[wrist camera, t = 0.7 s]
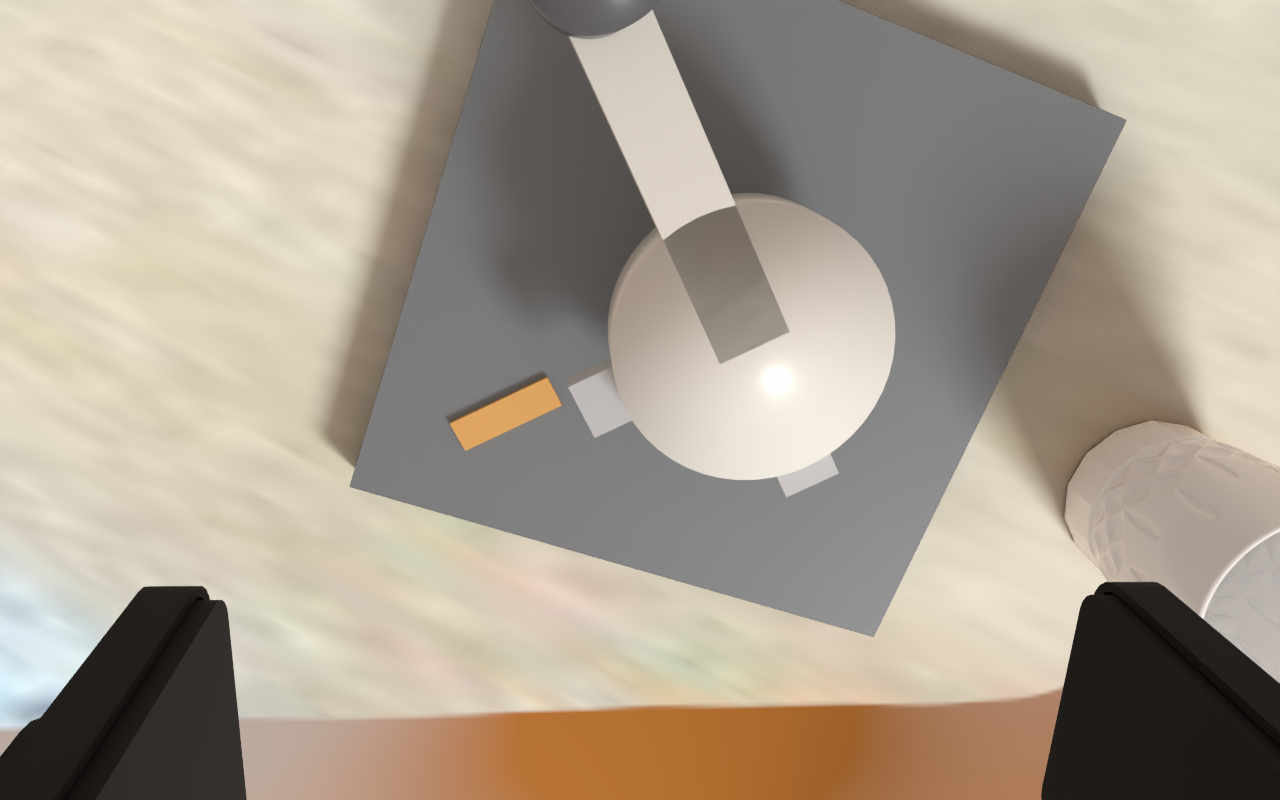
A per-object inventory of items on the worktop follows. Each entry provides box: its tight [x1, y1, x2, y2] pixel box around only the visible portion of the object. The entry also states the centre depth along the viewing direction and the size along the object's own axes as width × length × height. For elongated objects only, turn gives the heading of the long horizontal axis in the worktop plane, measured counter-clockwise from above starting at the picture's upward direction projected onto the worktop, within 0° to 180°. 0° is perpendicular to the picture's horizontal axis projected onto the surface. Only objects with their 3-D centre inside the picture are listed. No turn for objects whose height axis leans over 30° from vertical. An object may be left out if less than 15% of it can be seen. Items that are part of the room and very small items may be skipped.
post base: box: [350, 0, 1126, 637], centre depth 35 cm, size 22×22×4 cm
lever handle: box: [529, 0, 895, 497], centre depth 28 cm, size 20×10×8 cm, turn 25°
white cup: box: [1064, 420, 1280, 683], centre depth 37 cm, size 8×8×10 cm
